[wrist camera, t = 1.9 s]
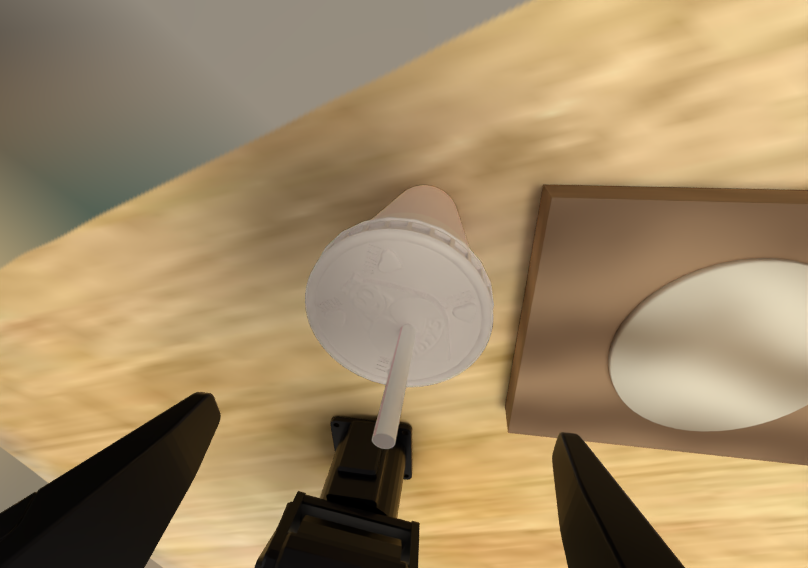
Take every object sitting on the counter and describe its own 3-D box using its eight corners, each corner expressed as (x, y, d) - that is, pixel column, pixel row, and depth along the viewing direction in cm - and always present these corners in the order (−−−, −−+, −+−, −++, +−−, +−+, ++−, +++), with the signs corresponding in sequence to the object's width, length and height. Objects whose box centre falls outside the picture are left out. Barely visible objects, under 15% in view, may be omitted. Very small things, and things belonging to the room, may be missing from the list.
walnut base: (822, 438, 24) (859, 478, 22) (505, 407, 27) (508, 439, 24) (1024, 195, 16) (1119, 216, 14) (543, 184, 19) (554, 200, 16)
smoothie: (429, 288, 23) (387, 534, 11) (345, 221, 21) (189, 418, 9) (509, 215, 20) (575, 441, 8) (418, 130, 18) (325, 246, 6)
